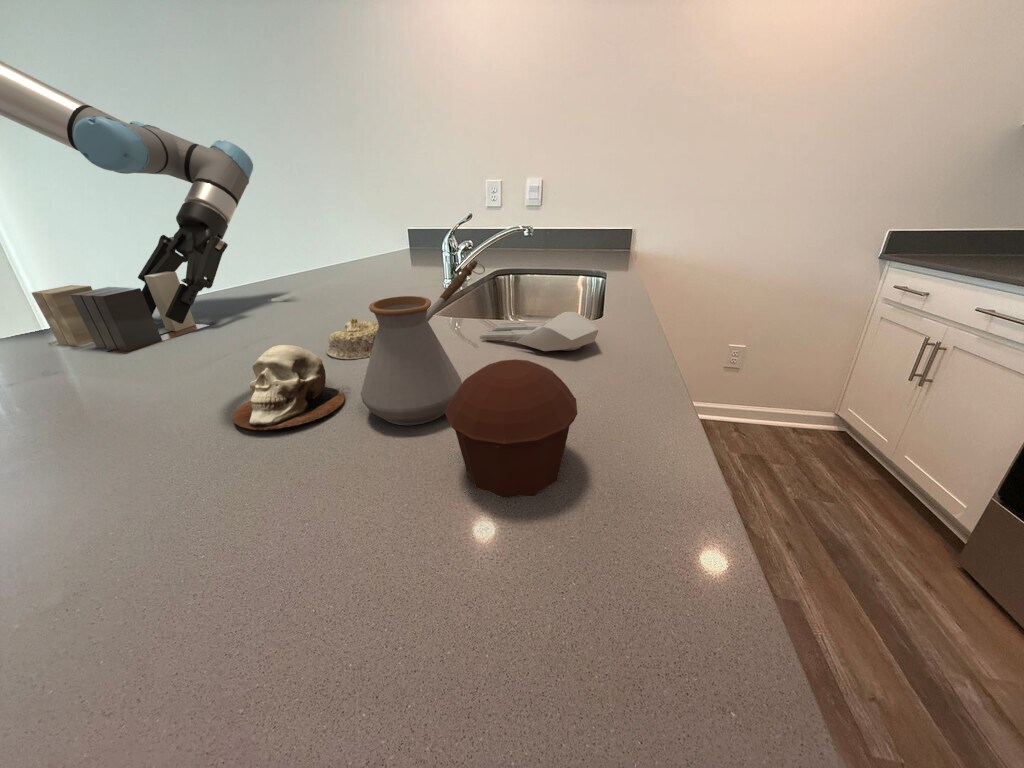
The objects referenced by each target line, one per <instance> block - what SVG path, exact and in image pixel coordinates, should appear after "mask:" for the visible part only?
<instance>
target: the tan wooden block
mask: <svg viewBox="0 0 1024 768" xmlns="http://www.w3.org/2000/svg"><path fill="white" fill-rule="evenodd" d="M90 290H93V288H92V286H91V285H78V284H76V285H75V284H70V285H65V286H59V287H54V288H53V287H52V288H48V289H42V290H38V291H32V292H31V296H32V297H33V299H34V301H35V303H36V304H37V306H38V308H39V310H40V313H42V316H43V317H44V319H45V321H46V323H47V324H48V327H49V329H50V330H51V332H52V334H53V336H54V337H55V339H56V341H57V343H58V345H60V346H61V345H62V346H71V347H72V346H73V347H81V346H83V345H87V344H90V343H94V341H93V339H92V337H91V335H90V333H89V331H88V329H87V327H86V325H85V323H84V321H83V319H82V317H81V315H80V313H79V311H78V309H77V307H76V305H75V303H74V301H73V299H72V297H71V294H75V293H80V292H85V291H90Z"/></svg>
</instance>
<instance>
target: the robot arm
mask: <svg viewBox="0 0 1024 768" xmlns="http://www.w3.org/2000/svg"><path fill="white" fill-rule="evenodd" d="M0 116H1V117H4V118H6V119H7V120H10V121H13V122H15V123H17V124H19V125H21V126H23V127H25V128H27V129H30V130H32V131H34V132H36V133H39V134H41V135H43V136H45V137H47V138H49V139H52V140H54V141H56V142H58V143H60V144H63V145H65V146H66V147H69V148H71V149H73V150H75V151H77V152H79V153H80V154H81V155H82V156H83V157H84V158H85V159H86V160H87V161H88V162H90V163H91V164H92V165H94V166H96V167H98V168H100V169H103V170H105V171H109V172H110V171H111V172H115V173H118V174H123V175H124V174H126V175H128V174H147V175H164V176H170V177H173V178H176V179H179V180H182V181H184V182H188V183H190V184H191V187H190V188H189V190H188V192H187V194H186V196H185V198H184V201H183V203H182V205H181V206H180V208H179V210H178V212H177V214H176V216H175V222H176V223H177V225H178V227H179V229H178V230H177V231H176V232H175V233H174V234H173V236H169V237H168V236H167V235H165V234H162V235H160V236H159V239H158V243H157V245H156V247H155V249H154V250H153V252H152V253H151V254H150V257H149V258H148V260H147V261H146V262H145V264H144V266H143V268H142V269H141V271H140V272H139V274H138V275H137V279H138V280H140V281H142V282H143V283H144V285H143V287H142V289H141V291H142V293H143V296H144V298H145V300H146V303H147V305H148V307H149V310H150V312H151V314H152V316H153V314H154V312H155V311H156V309H157V306H156V304H155V301H154V299H153V297H152V294H151V292H150V289H149V287H148V284H147V282H146V280H145V277H144V276H146V275H152V274H157V273H162V272H176V271H177V270H178V269H179V268H180V266H181V265H182V264H183V263H187V264H186V272H185V278H182V279H180V280H181V282H182V283H180V285H179V287H178V289H177V291H176V293H175V295H174V298H173V300H172V302H171V304H170V306H169V308H168V310H167V312H166V314H165V317H167V318H169V319H172V320H174V321H176V322H178V323H180V324H183V322H184V320H185V318H186V316H187V313H188V311H189V309H190V310H191V307H192V306H193V304H194V302H195V300H196V298H197V296H198V294H199V292H201V291H202V290H203V289H205V288H206V289H208V290H209V289H211V288H212V287H213V284H214V281H215V278H216V276H217V273H218V269H219V266H220V264H221V263H220V262H221V260H222V257H223V255H224V252H225V251H226V249H227V248H228V246H229V245H228V243H227V242H226V241H224V240H223V239H224V237H225V234H226V232H227V231H228V228H229V224H230V223H231V220H232V218H233V216H234V214H235V211H236V209H237V208H238V206H239V203H240V201H241V199H242V196H243V194H244V192H245V191H246V189H247V186H248V185H249V184H250V179H251V176H252V173H253V171H254V163H253V160H252V159H251V157H250V156H249V154H248V152H246V151H245V150H244V149H243V148H241V147H240V146H238V145H237V144H235V143H233V142H231V141H228V140H220V139H219V140H215V141H213V142H212V144H211V145H210V146H209V147H207V146H205V145H202V144H198V143H195V142H193V141H190V140H188V139H185V138H183V137H181V136H178V135H175V134H174V133H171V132H168V131H165V130H163V129H161V128H159V127H157V126H155V125H151V124H148V123H144V122H141V121H137V120H132V121H130V122H125V121H123V120H122V119H119V118H117V117H115V116H114V115H113V116H112V115H111V114H109V113H107V112H105V111H103V110H101V109H98V108H96V107H94V106H93V105H91V104H89V103H87V102H84V101H83V100H82V99H79V98H76V97H75V96H73V95H71V94H69V93H67V92H64V91H63V90H61V89H59V88H57V87H55V86H53V85H51V84H49V83H46V82H45V81H43V80H41V79H39V78H37V77H34V75H31V74H29V73H27V72H25V71H22V70H21V69H20V68H17V67H15V66H13V65H11V64H9V63H7V62H4V61H2V60H1V59H0Z"/></svg>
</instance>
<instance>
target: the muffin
mask: <svg viewBox="0 0 1024 768" xmlns="http://www.w3.org/2000/svg"><path fill="white" fill-rule="evenodd" d="M444 414H445V416H446V418H447V421H448V423H449V425H450V427H451V428H452V429H453V430H454V431H455V435H456V438H457V442H458V445H459V446H458V447H459V449H460V452H461V456H462V459H463V463H464V467H465V470H466V471H467V473H468V474H469V476H470V477H471V479H472V481H473V484H474V487H475V489H479V490H481V491H485V492H489V493H491V494H493V495H495V496H497V497H499V498H501V499H508V498H514V497H527V496H528V497H531V496H537V495H538V494H539V493H540V492H542V491H543V490H545V488H548V487H549V486H551V485H552V484H555V483H557V482H558V480H559V476H560V470H561V468H562V467H561V466H562V462H563V457H564V454H565V453H564V452H565V449H566V444H567V440H568V435H569V430H570V426H571V425H572V424H573V423H574V422H575V420H576V418H577V416H578V403H577V398H576V397H575V396H574V394H573V393H572V391H571V390H570V388H569V387H568V385H567V384H566V383H565V382H564V381H563V380H562V379H561V378H560V377H559V376H558V374H556V373H555V372H554V371H553V370H552V369H550V368H548V367H547V366H543V365H541V364H539V363H537V362H533V361H531V360H526V359H516V358H515V359H505V360H504V359H503V360H499V361H496V362H492V363H488V364H487V365H485V366H483V367H482V368H480V369H478V370H477V371H475V372H474V373H472V374H470V375H469V376H467V378H465V379H464V380H463V381H462V384H461V386H460V387H459V388H458V390H457V391H456V393H455V395H454V396H453V397H452V398H451V400H450V403H449V405H448V407H447V409H446V411H445V413H444Z"/></svg>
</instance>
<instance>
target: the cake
mask: <svg viewBox="0 0 1024 768" xmlns="http://www.w3.org/2000/svg"><path fill="white" fill-rule="evenodd" d="M378 326H379V323H378V322H374V321H371V320H370V321H369V320H363V321H359V320H358V319H357V318H356V319H354V318H351V319H350V321H347V322H346V323H345V324H344V328H345V330H338V331H335V332H332V333H330V334H329V335H328V346H327V347H326V348H325V353H326V354H327V355H329V357H332V358H336V359H341V360H356V359H358V360H359V359H362V358H363V359H365V358H368V357H369V358H370V356H371V352H372V349H373V345H374V341H375V337H376V333H377V329H378Z"/></svg>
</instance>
